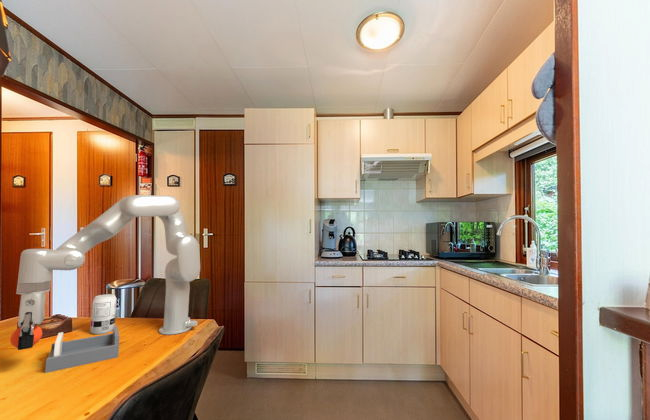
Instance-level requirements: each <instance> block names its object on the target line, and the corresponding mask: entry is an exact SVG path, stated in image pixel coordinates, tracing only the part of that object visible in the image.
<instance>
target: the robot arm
mask: <svg viewBox="0 0 650 420" xmlns="http://www.w3.org/2000/svg"><path fill="white" fill-rule="evenodd" d="M180 203H181V202H180V201H179V200H178V199H177V198H176V197H175V196H173V195H166V194H165V195H151V194H150V195H148V194H147V195H146V194H145V195H143V194H135V195H129V196H124V197H122V198H120V199H119V200H118V201H117V202H116V203H114V204H113V205H112V206H111V207H109V208H108V209H107V210H106V211H104V213H102V214H100V215H99V216H98V217H96V218H95V219H94V220H93V221H91V222H90V223H88V224H87V225H86V226H84V227H83V228H82V229H81V230H79V231H78V232H76V233H75V234H74V235H72V236H71V237H70V238H68V239H67V240H66V241H64V242H63V243H62V244H61V245H59V246H58V247H57V248H55V249H50V248H28V249H24V250H22V252H21V253H20V260H19V268H18V275H17V276H18V278H17V283H16V284H17V286H16V293H15V294H16V295H20V303H19V308H18V309H19V311H18V320H17V321H18V322H17V323H18V324H17V326H18V327H19V328H20V327H21V331H20V336H19V340H18V348H16V350H18V351H22V350H28V349H32V348H33V347H34V345H33V341H34V334H33V331H34V326H35V325H37V326H39V325H40V324H42V323H43V321H44V319H45V308H46V297H47V293H49V292H50V291H51V283H52V276H53V275H52V273H53V271H74V270H76V269H78V268H81V267H82V266H83V265H84V264H85V261H86V253H88V252H89V251H90V250H91V249H93V248H94V247H96V246H97V245H98V244H101V243H103V242H105V241H107V240H110V239H111V238H113V237H115V236H116V235H117V234H119V233H120V232H121V231H122V230H123V229H124V228H125V227H126V226H128V224H130V223H131V222H133V220H134V219H136V218H140V217H148V218H151V217H158V219H160V220H161V222H162V223H163V227H164V236H165V248H166V250H167V252H168V253H169V254H171V255H172V256H176V257H175V258H172V259H171V260H169V261H168V262H167V263H166V266H165V270H164V276H165V277H164V278H165V299H164V314H163V326H161V327H160V328H159V329H158V332H159V334H161V335H177V334H183V333H185V332H188V331H190V330H191V329H192V327H197V325H198V321H197V320H196V319H195V320H191V317H189V305H190V290H191V286H190V285H191V284H190V283H191V282H192V281H194V280H196V279H197V278H198V277H199V275H200V273H201V257H200V255H201V254H200V246H199V243H198V240H197V239H196V237H194V236H193V235H192V234H188V233H187V232H188V231H187V227H186V226H187V225H186V220H185V217H184V214H183V213H182V211H180V207H181V204H180ZM29 327H31V328H29Z"/></svg>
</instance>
